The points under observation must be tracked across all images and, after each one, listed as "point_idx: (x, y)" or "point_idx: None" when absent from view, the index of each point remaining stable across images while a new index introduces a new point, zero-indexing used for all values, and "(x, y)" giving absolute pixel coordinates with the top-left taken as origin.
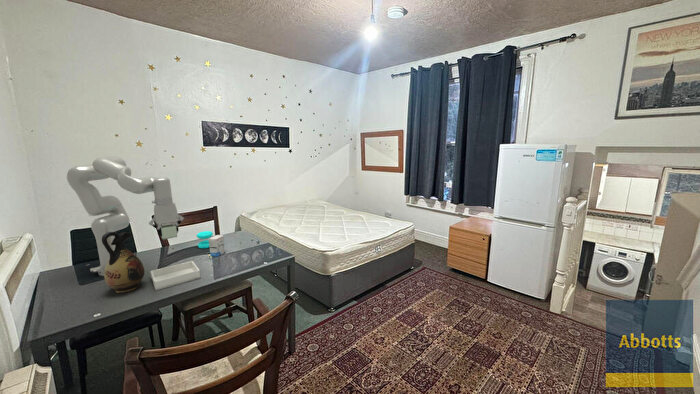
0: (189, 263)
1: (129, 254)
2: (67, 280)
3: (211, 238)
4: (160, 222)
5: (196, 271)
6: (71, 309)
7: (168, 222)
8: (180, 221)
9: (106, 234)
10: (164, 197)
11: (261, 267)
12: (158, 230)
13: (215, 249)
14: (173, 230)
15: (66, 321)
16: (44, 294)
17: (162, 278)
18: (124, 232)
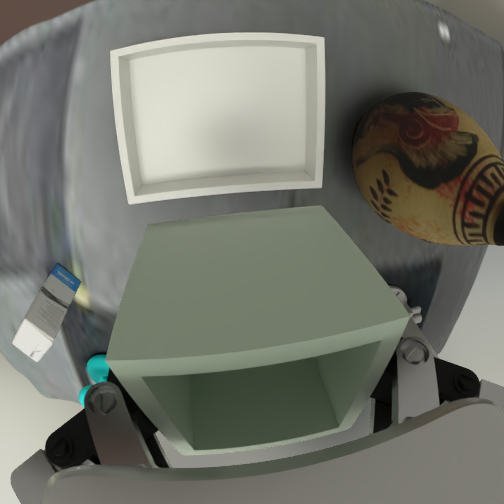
0: (145, 192)
1: (476, 172)
2: (442, 301)
3: (42, 337)
4: (467, 439)
5: (126, 47)
6: (477, 118)
7: (280, 477)
8: (52, 446)
9: None
10: None
11: None
12: None
13: (46, 284)
14: (175, 286)
15: (481, 62)
16: (480, 249)
17: (274, 130)
18: None
